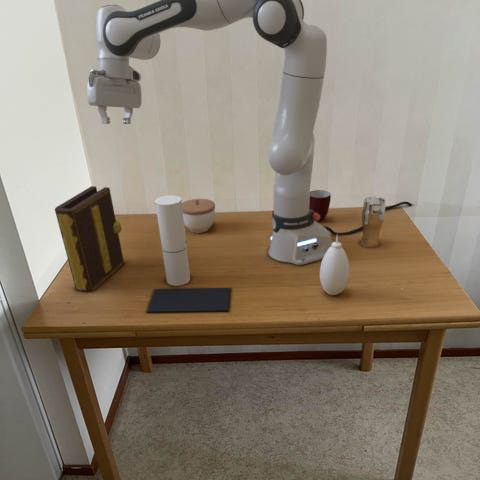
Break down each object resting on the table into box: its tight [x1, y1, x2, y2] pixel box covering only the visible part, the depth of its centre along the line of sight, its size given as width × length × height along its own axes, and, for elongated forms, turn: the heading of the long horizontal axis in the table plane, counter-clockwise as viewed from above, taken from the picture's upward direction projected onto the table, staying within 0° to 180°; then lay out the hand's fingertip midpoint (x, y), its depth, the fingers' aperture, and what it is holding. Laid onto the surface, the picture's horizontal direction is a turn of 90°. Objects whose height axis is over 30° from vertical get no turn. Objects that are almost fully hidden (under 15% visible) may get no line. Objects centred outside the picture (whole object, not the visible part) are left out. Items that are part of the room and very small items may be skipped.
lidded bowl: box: [182, 198, 216, 234], centre depth 176 cm, size 13×13×11 cm
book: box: [54, 185, 125, 293], centre depth 146 cm, size 22×8×25 cm, turn 162°
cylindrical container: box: [154, 194, 191, 287], centre depth 141 cm, size 7×7×25 cm
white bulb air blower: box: [319, 234, 350, 296], centre depth 133 cm, size 8×8×18 cm
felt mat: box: [146, 287, 231, 314], centre depth 138 cm, size 22×12×1 cm, turn 88°
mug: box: [309, 189, 332, 223], centre depth 178 cm, size 11×8×10 cm
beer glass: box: [360, 196, 386, 248], centre depth 159 cm, size 7×7×15 cm
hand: (116, 123), depth 146 cm, fingers open, 8 cm apart
